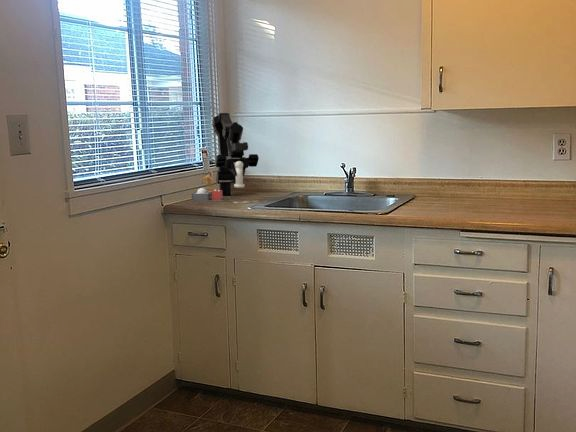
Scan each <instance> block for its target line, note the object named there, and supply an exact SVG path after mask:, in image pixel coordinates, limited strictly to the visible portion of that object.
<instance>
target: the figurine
mask: <svg viewBox="0 0 576 432" xmlns="http://www.w3.org/2000/svg"><path fill="white" fill-rule="evenodd" d="M204 180H205V181H206V185H207V189H208V192H212V191H213V186H214V185H213V184H212V181H213V183H215V184H216V185H218V184H217V183H216V180H215V179H214V178H213V177H211V175H210V173H208V174H206V175H205V176H203V177H202V178H201V184H204ZM211 180H212V181H211Z"/></svg>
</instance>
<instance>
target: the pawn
mask: <svg viewBox="0 0 576 432" xmlns="http://www.w3.org/2000/svg"><path fill="white" fill-rule="evenodd" d="M234 166H235V169H236V174H237V175H236V177H235V183H233V188H237V189H239V188H240V189H241V188H245V186H246V184H245V183H244V176H243V163H242V162H241V161H237V162H236V163H234Z"/></svg>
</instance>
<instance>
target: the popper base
mask: <svg viewBox="0 0 576 432" xmlns="http://www.w3.org/2000/svg"><path fill="white" fill-rule="evenodd" d="M212 190H213V189H212ZM197 191H198V190H197ZM197 191H194V192H192V193H191V200H190V202H191V203H190V204H192V205H193V203H195V202H226V201H227V200H229V198H228V197H226V198H225V197H224V196H222V190H220V189H214V190H213V191H212V192H209V191H207V192H208V194H195V193H197Z"/></svg>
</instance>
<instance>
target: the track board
mask: <svg viewBox="0 0 576 432" xmlns="http://www.w3.org/2000/svg"><path fill="white" fill-rule="evenodd" d="M262 202H267V200H265V199H257V200H256V199H255V200H240V201H238V200H237V201H233V203H235V204H246V203H262Z"/></svg>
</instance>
